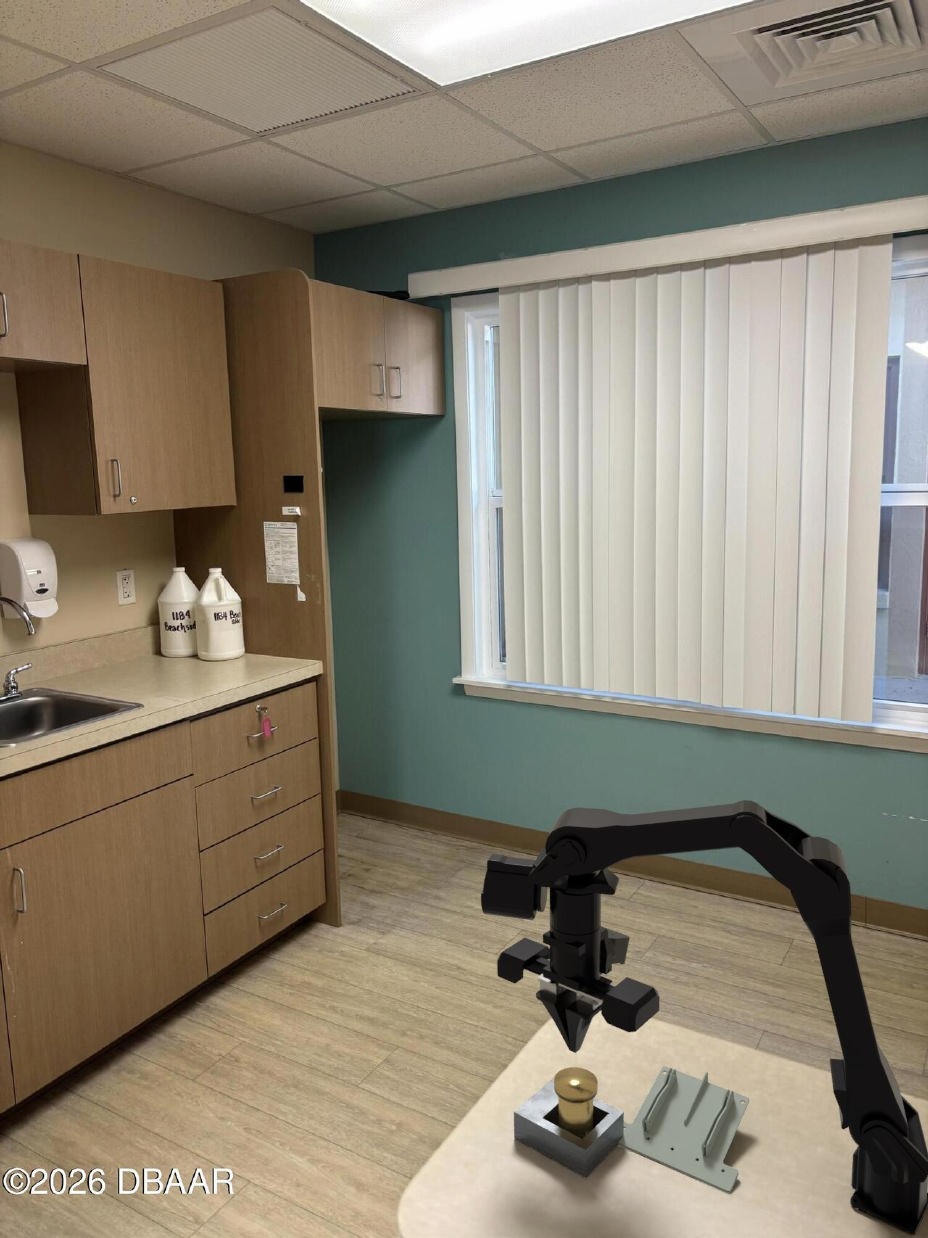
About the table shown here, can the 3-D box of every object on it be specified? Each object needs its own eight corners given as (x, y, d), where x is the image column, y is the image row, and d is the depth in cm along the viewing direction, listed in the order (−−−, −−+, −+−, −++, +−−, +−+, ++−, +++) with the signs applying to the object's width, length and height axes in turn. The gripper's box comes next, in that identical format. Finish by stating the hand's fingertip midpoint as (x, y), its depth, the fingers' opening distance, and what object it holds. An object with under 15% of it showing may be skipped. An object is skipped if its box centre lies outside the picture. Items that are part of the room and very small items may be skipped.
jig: (623, 1139, 111) (623, 1112, 110) (585, 1178, 105) (585, 1150, 104) (553, 1103, 117) (553, 1078, 117) (514, 1138, 111) (513, 1112, 111)
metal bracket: (649, 1044, 120) (767, 1088, 111) (654, 1078, 122) (771, 1122, 113) (598, 1136, 109) (724, 1192, 101) (605, 1171, 112) (728, 1228, 103)
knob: (605, 1141, 111) (605, 1079, 109) (581, 1165, 107) (581, 1101, 106) (570, 1122, 114) (570, 1062, 113) (545, 1145, 110) (545, 1083, 109)
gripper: (685, 921, 106) (682, 1048, 109) (549, 876, 118) (549, 992, 121) (633, 961, 98) (631, 1098, 100) (493, 909, 110) (494, 1032, 112)
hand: (574, 1050), depth 109 cm, fingers closed
